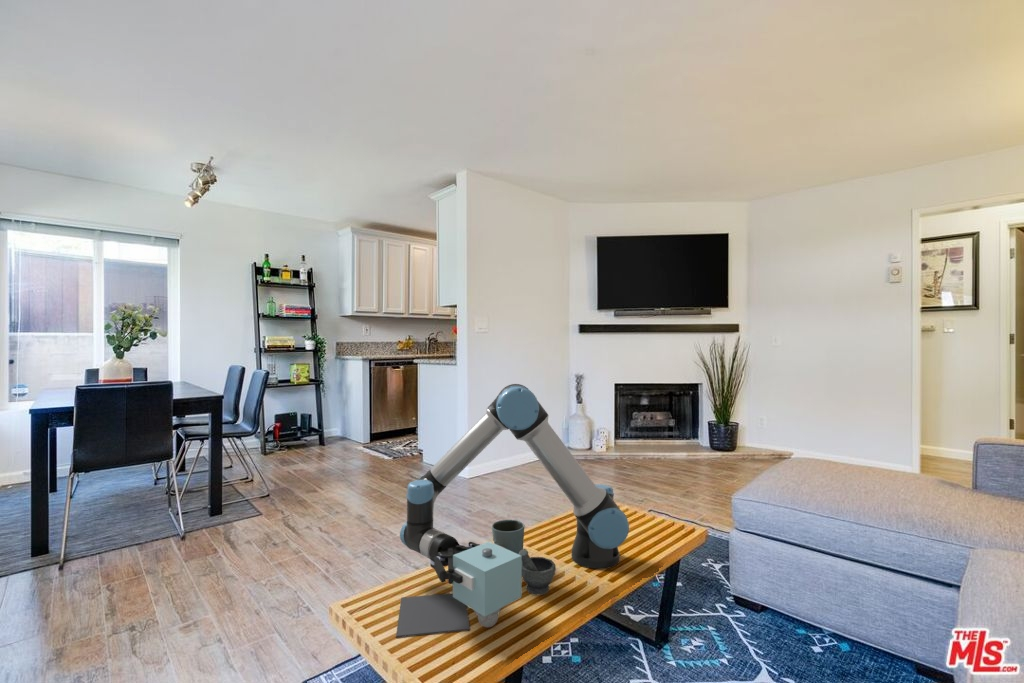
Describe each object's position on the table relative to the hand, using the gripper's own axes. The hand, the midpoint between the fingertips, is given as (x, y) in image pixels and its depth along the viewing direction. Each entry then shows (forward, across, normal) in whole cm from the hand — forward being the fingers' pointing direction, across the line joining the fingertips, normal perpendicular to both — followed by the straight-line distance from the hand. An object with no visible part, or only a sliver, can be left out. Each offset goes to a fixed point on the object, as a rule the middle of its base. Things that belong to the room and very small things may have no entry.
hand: (493, 574), depth 111 cm
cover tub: (-2, 0, -6) cm, 6 cm away
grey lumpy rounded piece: (-2, 0, -13) cm, 13 cm away
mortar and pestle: (-5, -20, -13) cm, 25 cm away
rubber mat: (-15, +6, -13) cm, 21 cm away
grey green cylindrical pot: (-22, -26, -13) cm, 36 cm away
